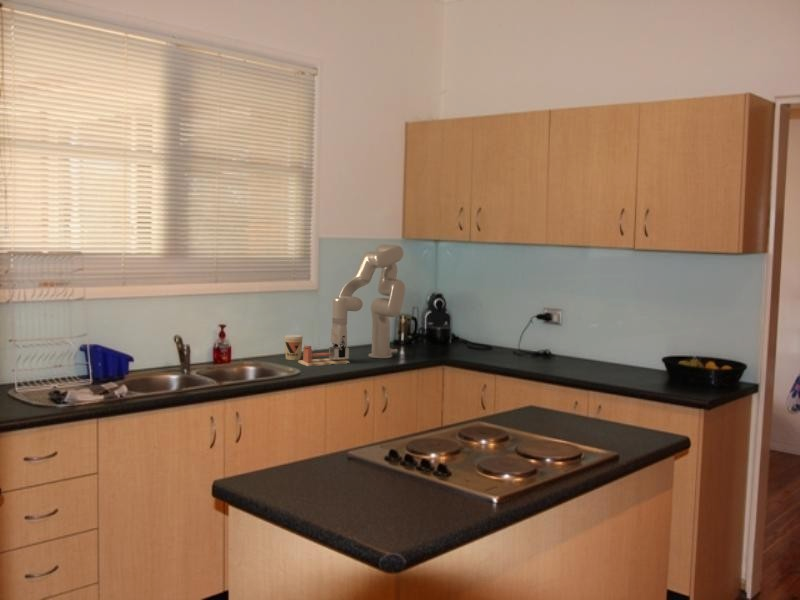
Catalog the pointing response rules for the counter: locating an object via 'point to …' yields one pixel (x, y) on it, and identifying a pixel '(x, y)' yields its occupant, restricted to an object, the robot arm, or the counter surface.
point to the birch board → (324, 362)
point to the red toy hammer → (308, 354)
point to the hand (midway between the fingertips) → (339, 356)
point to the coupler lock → (335, 353)
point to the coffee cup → (293, 347)
